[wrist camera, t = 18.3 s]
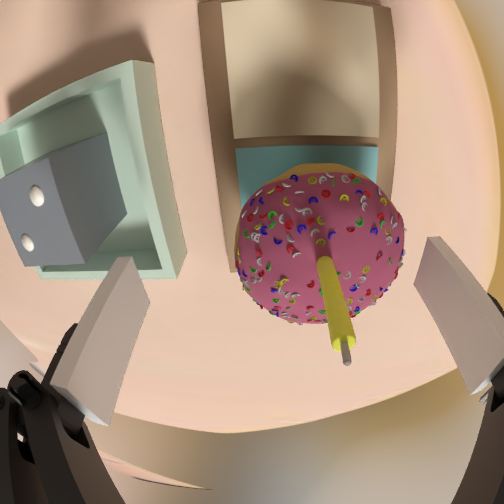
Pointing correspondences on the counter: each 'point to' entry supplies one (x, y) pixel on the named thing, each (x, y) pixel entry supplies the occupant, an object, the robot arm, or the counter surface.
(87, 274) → the tray
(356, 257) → the cupcake
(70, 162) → the die
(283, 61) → the board
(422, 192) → the counter surface
